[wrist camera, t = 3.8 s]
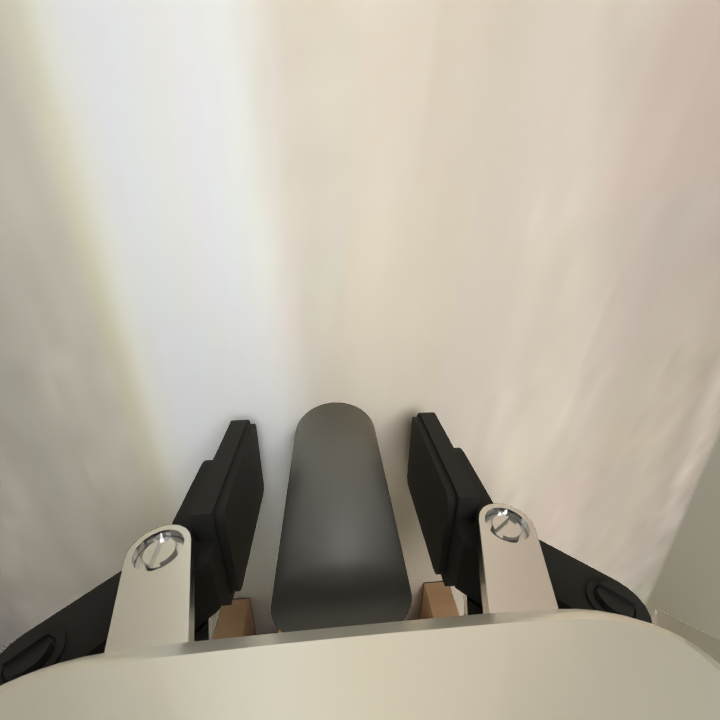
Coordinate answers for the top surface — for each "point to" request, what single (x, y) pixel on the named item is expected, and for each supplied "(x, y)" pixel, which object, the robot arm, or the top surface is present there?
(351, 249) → the top surface
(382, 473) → the block
